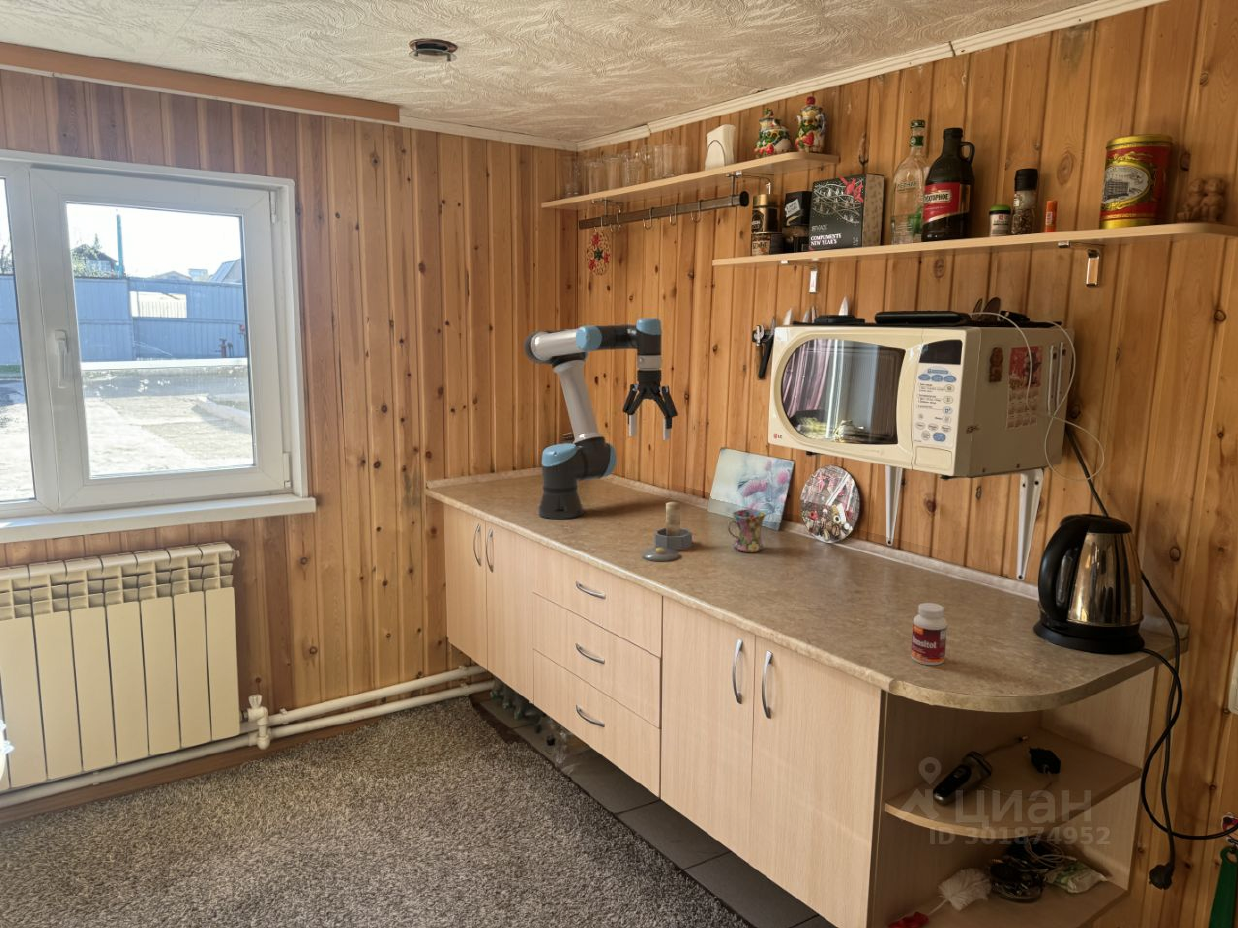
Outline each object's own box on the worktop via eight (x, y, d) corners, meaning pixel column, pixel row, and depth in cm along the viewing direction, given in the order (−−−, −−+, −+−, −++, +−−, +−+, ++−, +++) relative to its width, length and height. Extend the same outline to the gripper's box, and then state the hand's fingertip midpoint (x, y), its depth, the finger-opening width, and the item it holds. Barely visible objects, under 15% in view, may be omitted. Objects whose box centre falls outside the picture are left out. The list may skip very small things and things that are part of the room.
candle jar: (647, 546, 251) (647, 532, 251) (669, 538, 259) (669, 525, 258) (676, 552, 244) (676, 539, 244) (698, 544, 252) (698, 531, 252)
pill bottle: (905, 660, 169) (908, 607, 167) (918, 651, 174) (921, 599, 172) (937, 669, 165) (940, 614, 163) (949, 659, 169) (952, 606, 167)
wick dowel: (663, 543, 251) (663, 503, 249) (671, 540, 254) (671, 501, 252) (674, 546, 249) (674, 505, 247) (682, 543, 252) (682, 503, 250)
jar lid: (635, 557, 241) (635, 549, 240) (657, 549, 248) (657, 541, 248) (663, 563, 234) (663, 555, 234) (685, 555, 242) (685, 547, 241)
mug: (751, 543, 253) (752, 508, 251) (771, 551, 245) (772, 514, 243) (718, 549, 247) (718, 513, 245) (737, 557, 239) (737, 520, 237)
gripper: (610, 368, 270) (611, 435, 274) (674, 371, 254) (674, 442, 258) (626, 366, 275) (627, 432, 279) (689, 370, 259) (689, 439, 263)
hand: (649, 437), depth 268 cm, fingers open, 13 cm apart
